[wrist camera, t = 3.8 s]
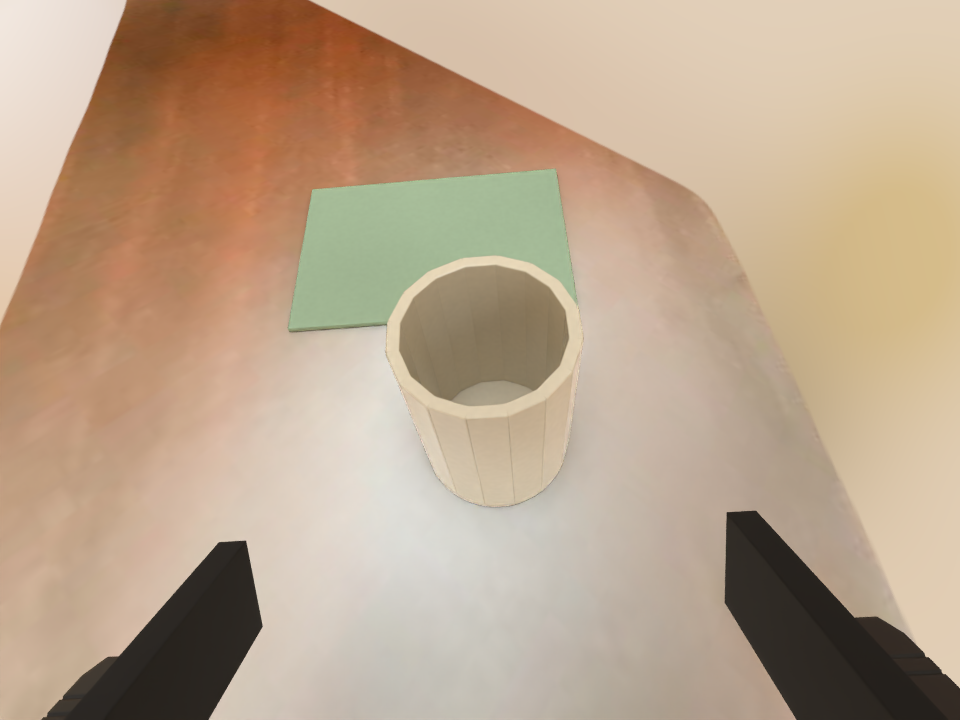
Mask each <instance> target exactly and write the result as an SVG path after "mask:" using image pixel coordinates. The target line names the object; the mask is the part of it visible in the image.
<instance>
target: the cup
mask: <svg viewBox="0 0 960 720" xmlns="http://www.w3.org/2000/svg"><path fill="white" fill-rule="evenodd" d="M583 340H584V337H583V331H582V325H581V318H580V312H579V308H578V306H577V304H576V303H575V302H574V300H573V299H572V297H571V296H570V295H569V293H568V292H567V290H566V289H565V287H564V286H563V285H562V283H561V282H560V281H559V280H558V279H556V278H555V277H553V276H551V275H550V274H548V273H547V272H545V271H543V270H542V269H540V268H539V267H537V266H535V265H534V264H532V263H529V262H525V261H521V260H516V259H512V258H508V257H503V256H499V255H498V256H497V255H493V256H480V257H468V258H462V259H458V260H455V261H453V262H450V263H448V264H445V265H443V266H440V267H438V268H435V269H433V270H430V271H428V272H427V273H426V274H425V275H423V276H422V277H421V278H420V279H419V280H417V281H416V282H415V283H414V284H413V285H411V286H410V287H409V288H408V289H407V290H405V291H404V292H403V294H402V296H401V298H400V299H399V301H398V303H397V305H396V307H395V309H394V310H393V312H392V314H391V316H390V318H389V319H388V322H387V335H386V350H385V353H386V357H387V359H388V362H389V364H390V366H391V369H392V371H393V374H394V376H395V379H396V381H397V383H398V386H399V388H400V391H401V393H402V396H403V398H404V401H405V403H406V405H407V408H408V410H409V413H410V415H411V418H412V420H413V422H414V425H415V427H416V430H417V432H418V435H419V437H420V440H421V442H422V444H423V447H424V449H425V452H426V454H427V456H428V459H429V461H430V463H431V466H432V468H433V470H434V472H435V475H436V476H437V477H438V478H439V480H440V481H441V482H442V483H443V484H444V485H445V487H446V488H447V489H449V490H450V491H451V492H452V493H454V494H455V495H457V496H458V497H460V498H462V499H464V500H466V501H468V502H471V503H474V504H477V505H481V506H489V507H503V506H511V505H514V504H518V503H521V502H524V501H526V500H529V499H530V498H532V497H534V496H536V495H537V494H539V493H540V492H541V491H543V490H544V489H545V488H546V487H547V486H548V485H549V484H550V483H551V482H552V481H553V479H554V478H555V477H556V475H557V474H558V472H559V470H560V468H561V466H562V464H563V461H564V458H565V454H566V450H567V447H568V444H569V437H570V430H571V423H572V416H573V409H574V402H575V395H576V388H577V381H578V375H579V368H580V361H581V354H582V347H583Z"/></svg>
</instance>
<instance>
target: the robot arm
mask: <svg viewBox="0 0 960 720" xmlns="http://www.w3.org/2000/svg"><path fill="white" fill-rule="evenodd" d="M725 604H726V605H727V607H728V609H729V610H730V612H731V613H732V615H733V617H734V618H735V620H736V622H737V623H738V625H739V626H740V628H741V630H742V631H743V633H744V635H745V636H746V638H747V640H748V641H749V643H750V644H751V646H752V648H753V649H754V651H755V653H756V654H757V656H758V658H759V659H760V661H761V662H762V664H763V666H764V667H765V669H766V671H767V672H768V674H769V675H770V677H771V679H772V680H773V682H774V684H775V685H776V687H777V689H778V690H779V692H780V693H781V695H782V697H783V698H784V700H785V702H786V703H787V705H788V706H789V708H790V710H791V711H792V713H793V715H794V716H795V718H796V720H960V688H959V687H958V686H957V685H956V684H955V683H954V682H953V681H952V680H951V679H950V678H949V677H948V676H947V675H946V674H942V672H941V669H940V668H939V667H938V666H937V665H936V664H935V663H934V662H933V661H932V660H931V659H930V658H929V657H925V654H924V652H923V651H922V650H921V649H920V648H919V647H918V646H917V645H916V644H915V643H914V642H913V641H912V640H911V639H910V638H909V637H908V636H907V635H906V634H905V633H903V632H901V631H900V630H898V629H896V628H895V627H893V626H892V625H890V624H888V623H887V622H885V621H883V620H882V619H880V618H878V617H859V618H854V617H853V616H852V614H851V613H850V612H849V611H848V610H847V609H846V608H845V607H844V606H843V605H842V604H841V602H840V601H839V600H838V599H837V598H836V597H835V596H834V595H833V594H832V593H831V592H830V591H829V589H828V588H827V587H826V586H825V585H824V584H823V583H822V582H821V581H820V580H819V579H818V578H817V576H816V575H815V574H814V573H813V572H812V571H811V570H810V569H809V568H808V567H807V566H806V564H805V563H804V562H803V561H802V560H801V559H800V558H799V557H798V556H797V555H796V554H795V553H794V551H793V550H792V549H791V548H790V547H789V546H788V545H787V544H786V543H785V542H784V541H783V540H782V538H781V537H780V536H779V535H778V534H777V533H776V532H775V531H774V530H773V529H772V528H771V526H770V525H769V524H768V523H767V522H766V521H765V520H764V519H763V518H762V517H761V516H760V515H759V513H758V512H757V511H741V512H727V523H726V569H725ZM262 627H263V626H262V621H261V615H260V610H259V605H258V600H257V595H256V590H255V584H254V579H253V574H252V569H251V564H250V559H249V553H248V548H247V543H246V541H232V542H219V543H218V544H217V545H216V546H215V547H214V549H213V550H212V551H211V552H210V553H209V554H208V555H207V557H206V558H205V559H204V560H203V561H202V562H201V563H200V565H199V566H198V567H197V568H196V569H195V570H194V571H193V573H192V574H191V575H190V576H189V577H188V578H187V579H186V581H185V582H184V583H183V584H182V585H181V586H180V587H179V589H178V590H177V591H176V592H175V593H174V594H173V595H172V597H171V598H170V599H169V600H168V601H167V602H166V603H165V605H164V606H163V607H162V608H161V609H160V610H159V611H158V613H157V614H156V615H155V616H154V617H153V618H152V619H151V621H150V622H149V623H148V624H147V625H146V626H145V627H144V628H143V630H142V631H141V632H140V633H139V634H138V635H137V636H136V638H135V639H134V640H133V641H132V642H131V643H130V644H129V646H128V647H127V648H126V649H125V650H124V651H123V652H122V654H121V655H120V656H118V657H107V658H106V659H104V660H103V661H101V662H100V663H99V664H97V665H96V666H95V667H93V668H92V669H90V670H89V671H88V672H86V673H85V674H83V675H82V676H81V677H80V678H79V679H78V681H77V682H76V683H75V684H74V685H73V686H72V687H71V688H70V689H69V690H68V691H67V692H66V694H65V695H64V696H63V699H62V700H59V701H58V702H57V703H56V704H55V706H54V707H53V708H52V709H51V710H50V711H49V712H48V715H47V717H43V719H42V720H209V718H210V716H211V714H212V713H213V711H214V709H215V708H216V706H217V704H218V702H219V701H220V699H221V697H222V695H223V694H224V692H225V690H226V689H227V687H228V685H229V683H230V682H231V680H232V678H233V677H234V675H235V673H236V671H237V670H238V668H239V666H240V665H241V663H242V661H243V659H244V658H245V656H246V654H247V653H248V651H249V649H250V647H251V646H252V644H253V642H254V641H255V639H256V637H257V635H258V634H259V632H260V630H261V629H262Z"/></svg>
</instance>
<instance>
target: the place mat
mask: <svg viewBox="0 0 960 720" xmlns="http://www.w3.org/2000/svg"><path fill="white" fill-rule="evenodd" d="M493 255H497V256H498V255H499V256H503V257H508V258H512V259H516V260H521V261H525V262H529V263H532V264H534V265H535V266H537V267H539V268H540V269H542V270H543V271H545V272H547V273H548V274H550V275H551V276H553V277H555V278H556V279H558V280H559V281H560V282H561V283H562V285H563V286H564V287H565V289H566V290H567V292H568V293H569V295H570V296H571V297H572V299H573V300H574V302H575V303H576V304H577V298H576V292H575V285H574V279H573V273H572V267H571V260H570V254H569V248H568V241H567V235H566V229H565V223H564V216H563V210H562V204H561V197H560V191H559V185H558V179H557V172H556V169H546V170H535V171H523V172H511V173H500V174H488V175H476V176H465V177H453V178H441V179H430V180H418V181H406V182H395V183H383V184H371V185H360V186H348V187H336V188H325V189H313V190H312V195H311V200H310V206H309V212H308V217H307V223H306V229H305V234H304V240H303V246H302V251H301V257H300V263H299V268H298V274H297V280H296V286H295V291H294V297H293V303H292V308H291V314H290V320H289V325H288V330H289V331H290V332H294V331H308V330H321V329H335V328H348V327H362V326H375V325H387V322H388V319H389V318H390V316H391V314H392V312H393V310H394V309H395V307H396V305H397V303H398V301H399V299H400V298H401V296H402V294H403V292H404V291H405V290H407V289H408V288H409V287H410V286H411V285H413V284H414V283H415V282H416V281H417V280H419V279H420V278H421V277H422V276H423V275H425V274H426V273H427V272H428V271H430V270H433V269H435V268H438V267H440V266H443V265H445V264H448V263H450V262H453V261H455V260H458V259H462V258H468V257H480V256H493ZM577 306H578V304H577Z"/></svg>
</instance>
